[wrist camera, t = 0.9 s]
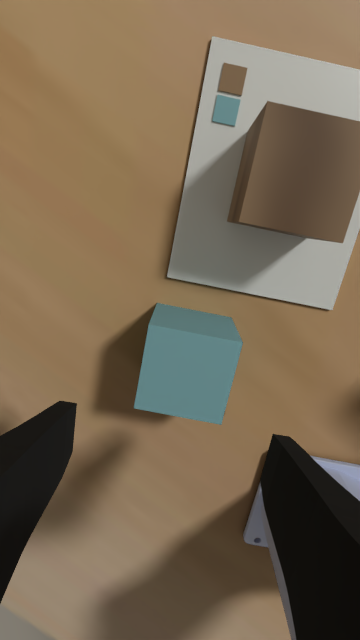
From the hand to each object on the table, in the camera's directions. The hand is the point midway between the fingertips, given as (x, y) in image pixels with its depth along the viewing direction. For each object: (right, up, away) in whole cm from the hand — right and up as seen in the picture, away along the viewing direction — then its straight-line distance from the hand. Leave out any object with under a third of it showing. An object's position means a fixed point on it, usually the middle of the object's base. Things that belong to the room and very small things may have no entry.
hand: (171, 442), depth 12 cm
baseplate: (+6, +12, +6) cm, 14 cm away
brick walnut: (+6, +12, +6) cm, 14 cm away
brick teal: (+1, +3, +9) cm, 10 cm away
